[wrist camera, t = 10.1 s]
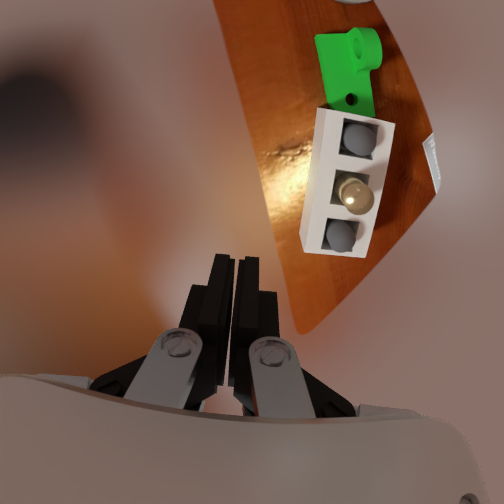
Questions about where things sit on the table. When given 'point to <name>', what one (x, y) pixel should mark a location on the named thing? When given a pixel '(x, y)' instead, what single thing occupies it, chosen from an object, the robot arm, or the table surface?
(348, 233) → the far knob
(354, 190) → the brass knob
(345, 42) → the mechanical part
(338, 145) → the white peg holder block
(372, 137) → the near knob
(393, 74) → the table surface
